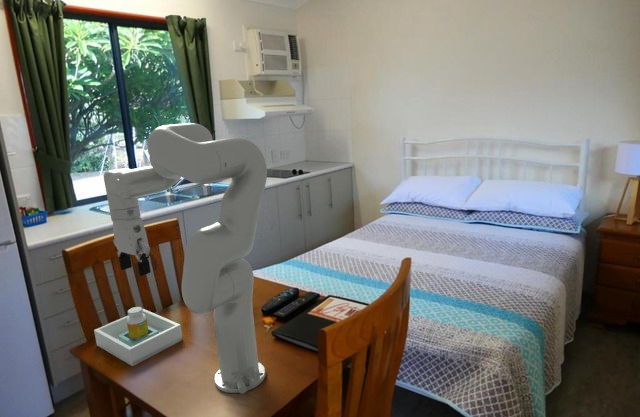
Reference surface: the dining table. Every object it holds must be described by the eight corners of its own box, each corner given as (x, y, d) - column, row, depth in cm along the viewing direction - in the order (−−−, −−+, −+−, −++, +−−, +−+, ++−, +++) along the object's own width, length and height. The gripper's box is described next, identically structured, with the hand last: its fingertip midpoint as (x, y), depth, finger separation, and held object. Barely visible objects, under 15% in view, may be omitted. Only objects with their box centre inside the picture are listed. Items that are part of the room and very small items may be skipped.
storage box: (182, 339, 130) (180, 324, 129) (132, 366, 118) (129, 349, 117) (145, 322, 143) (143, 308, 141) (96, 345, 130) (93, 330, 129)
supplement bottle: (142, 345, 127) (137, 314, 125) (126, 344, 128) (120, 313, 126) (153, 335, 132) (148, 305, 130) (137, 334, 133) (132, 305, 131)
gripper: (155, 213, 119) (164, 272, 123) (121, 208, 129) (131, 262, 133) (129, 219, 113) (140, 281, 117) (96, 213, 124) (107, 270, 127)
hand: (135, 271), depth 125 cm, fingers open, 9 cm apart
